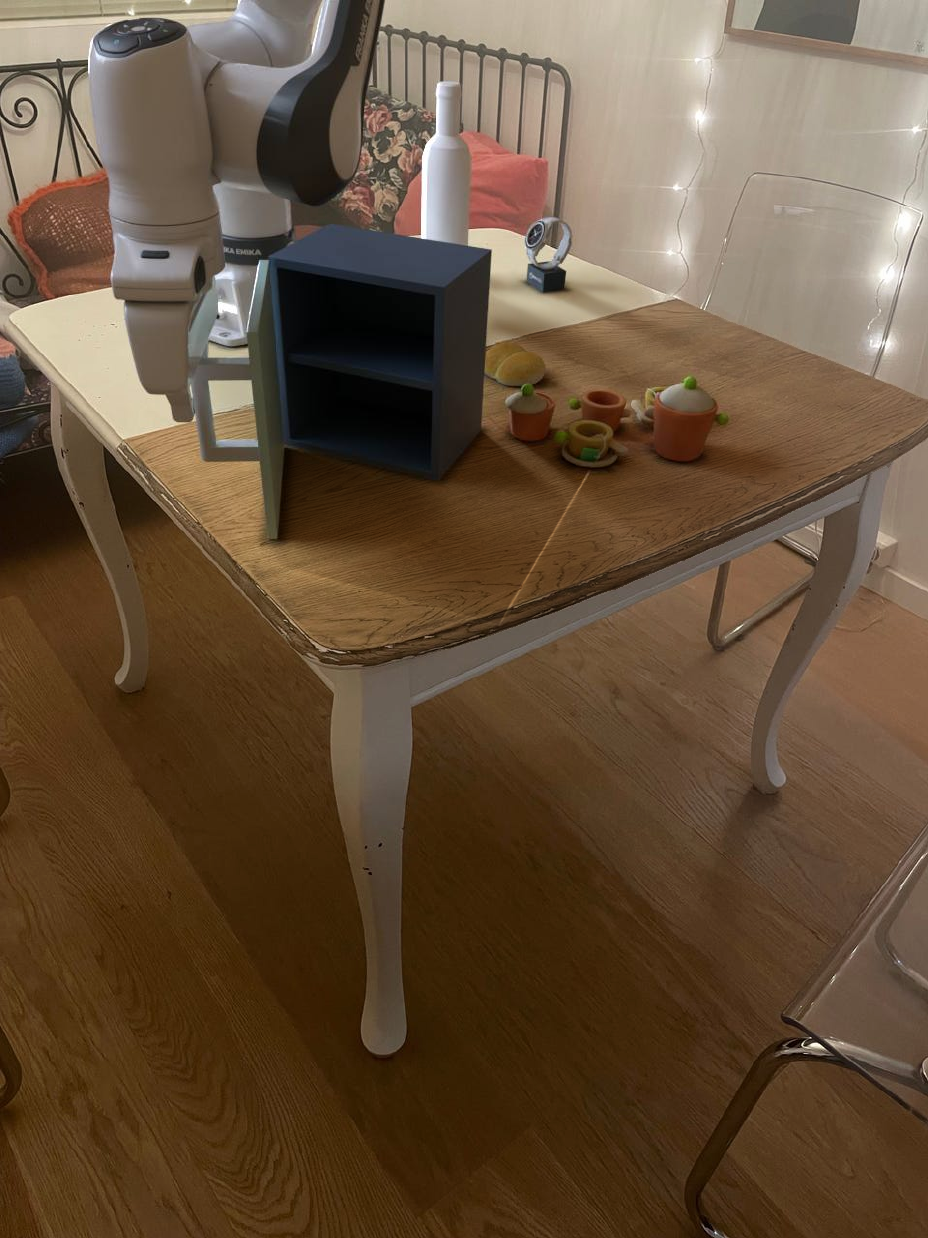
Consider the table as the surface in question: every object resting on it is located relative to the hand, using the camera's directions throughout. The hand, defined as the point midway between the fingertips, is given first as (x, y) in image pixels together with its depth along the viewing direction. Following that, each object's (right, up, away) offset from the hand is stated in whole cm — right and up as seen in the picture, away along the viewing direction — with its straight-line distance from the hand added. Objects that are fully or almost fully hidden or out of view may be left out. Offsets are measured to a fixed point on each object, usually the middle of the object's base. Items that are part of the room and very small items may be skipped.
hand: (192, 398), depth 88 cm
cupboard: (+16, +1, +26) cm, 31 cm away
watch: (+39, +36, +73) cm, 91 cm away
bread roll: (+32, +13, +43) cm, 55 cm away
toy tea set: (+44, +1, +28) cm, 52 cm away
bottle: (+22, +37, +72) cm, 84 cm away
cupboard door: (+2, -7, +15) cm, 16 cm away
